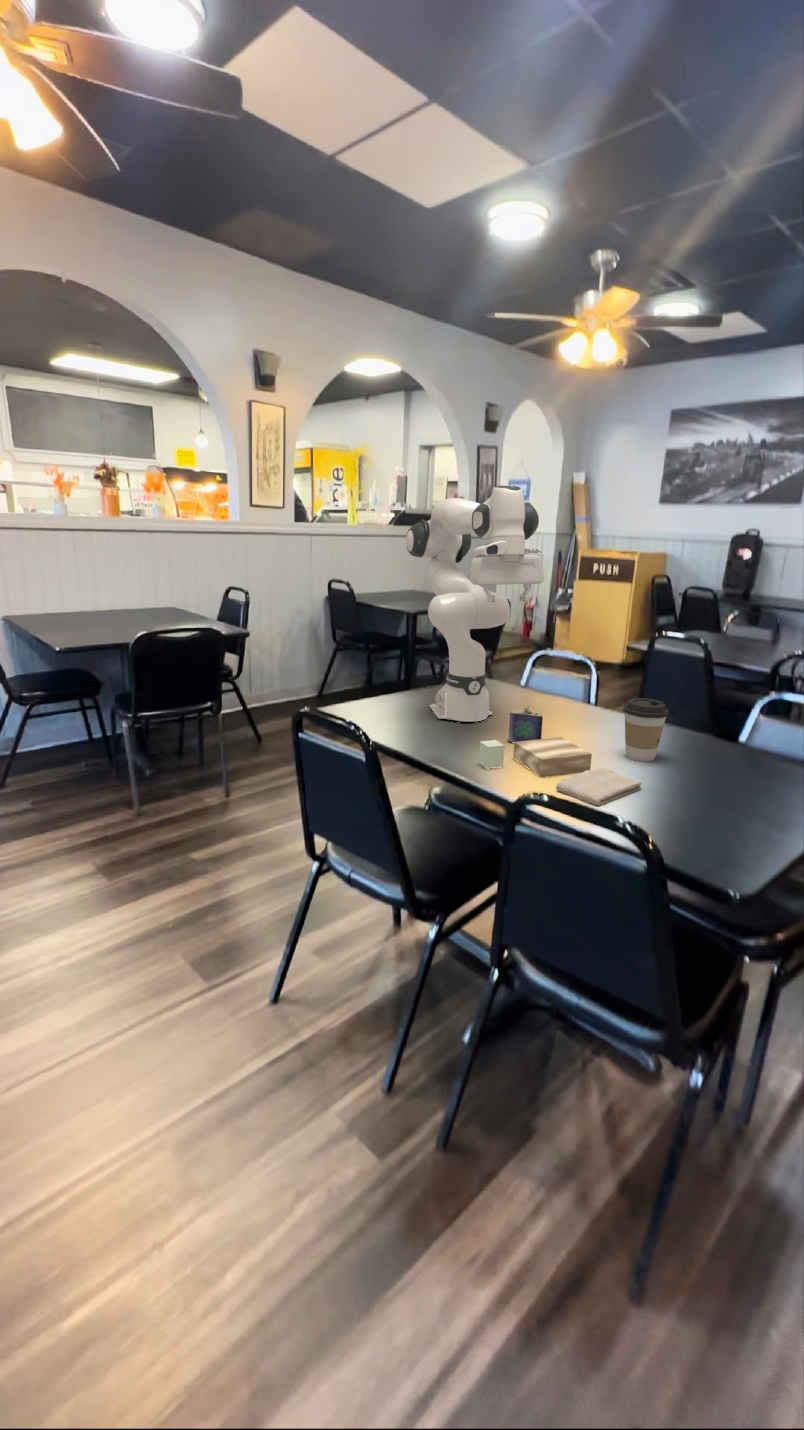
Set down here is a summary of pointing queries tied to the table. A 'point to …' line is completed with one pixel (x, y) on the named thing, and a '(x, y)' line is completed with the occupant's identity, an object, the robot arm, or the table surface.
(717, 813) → the table surface
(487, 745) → the sage block
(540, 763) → the birch block
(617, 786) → the washcloth
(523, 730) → the dark blue flattened pouch
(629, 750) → the coffee cup
